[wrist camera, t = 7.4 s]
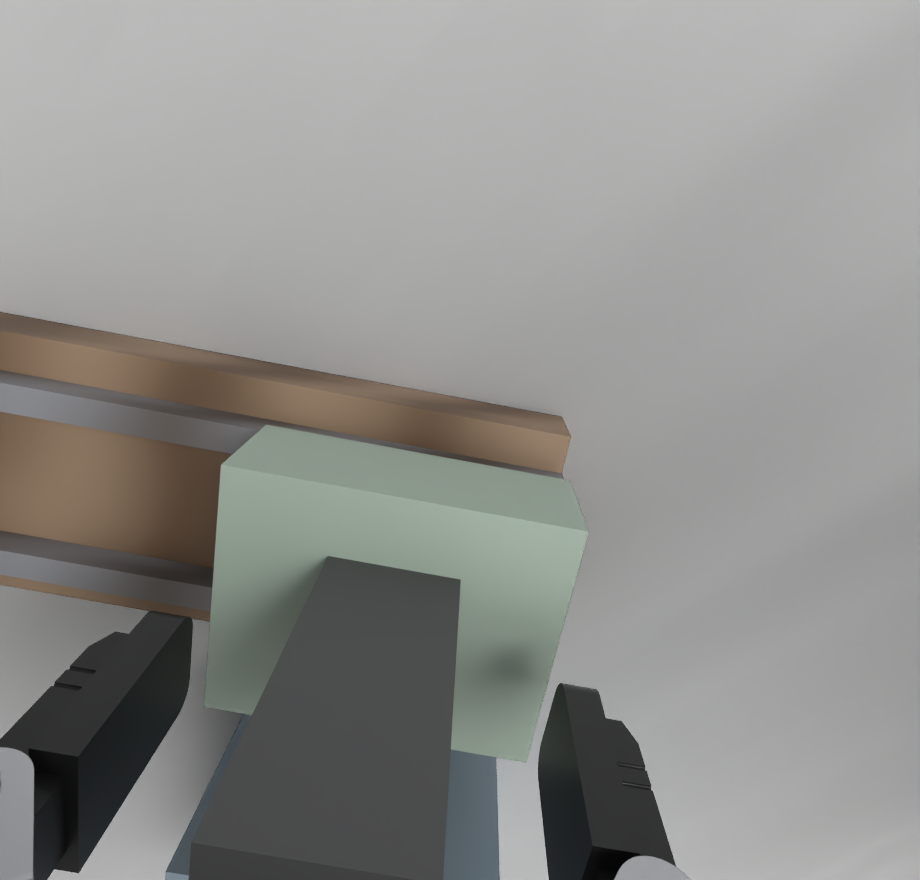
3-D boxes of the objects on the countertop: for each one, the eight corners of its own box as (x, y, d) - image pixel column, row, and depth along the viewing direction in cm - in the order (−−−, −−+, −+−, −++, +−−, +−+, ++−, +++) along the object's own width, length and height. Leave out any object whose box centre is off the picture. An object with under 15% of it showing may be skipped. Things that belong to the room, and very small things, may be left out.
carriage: (570, 480, 17) (689, 810, 7) (518, 681, 19) (558, 1150, 9) (266, 424, 16) (-32, 688, 7) (247, 633, 18) (-5, 1062, 9)
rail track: (561, 416, 19) (576, 448, 17) (508, 636, 22) (512, 696, 19) (-96, 294, 19) (-198, 305, 16) (-75, 532, 21) (-160, 578, 19)
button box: (494, 694, 23) (501, 927, 15) (458, 840, 25) (448, 1107, 17) (257, 653, 22) (142, 868, 15) (242, 803, 25) (135, 1058, 17)
